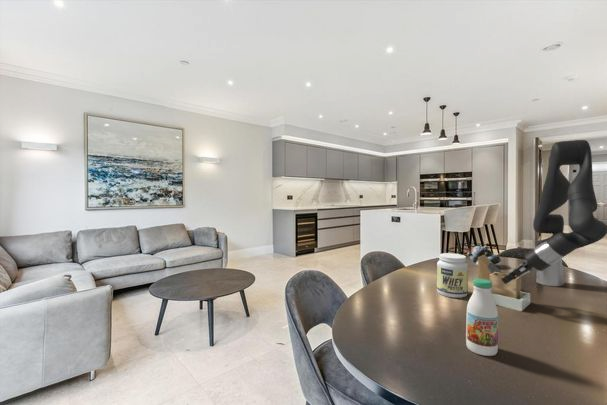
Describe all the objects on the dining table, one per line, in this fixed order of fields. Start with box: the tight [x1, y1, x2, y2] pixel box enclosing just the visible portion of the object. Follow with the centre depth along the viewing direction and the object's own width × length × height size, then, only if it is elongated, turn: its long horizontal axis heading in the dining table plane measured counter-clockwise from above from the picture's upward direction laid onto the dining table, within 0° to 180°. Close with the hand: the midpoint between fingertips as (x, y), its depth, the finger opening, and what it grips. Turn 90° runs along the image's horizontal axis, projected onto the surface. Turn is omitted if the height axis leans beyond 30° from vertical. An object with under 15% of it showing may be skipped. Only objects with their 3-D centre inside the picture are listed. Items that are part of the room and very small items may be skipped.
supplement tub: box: [436, 252, 469, 299], centre depth 129 cm, size 12×12×17 cm
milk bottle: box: [465, 278, 499, 357], centre depth 84 cm, size 8×8×20 cm
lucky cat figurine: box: [466, 244, 502, 268], centre depth 174 cm, size 15×12×14 cm
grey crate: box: [491, 290, 531, 312], centre depth 119 cm, size 15×12×4 cm
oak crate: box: [490, 272, 522, 300], centre depth 119 cm, size 9×6×10 cm, turn 40°
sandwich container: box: [477, 255, 503, 281], centre depth 132 cm, size 9×15×15 cm, turn 43°
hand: (507, 279), depth 118 cm, fingers open, 8 cm apart
